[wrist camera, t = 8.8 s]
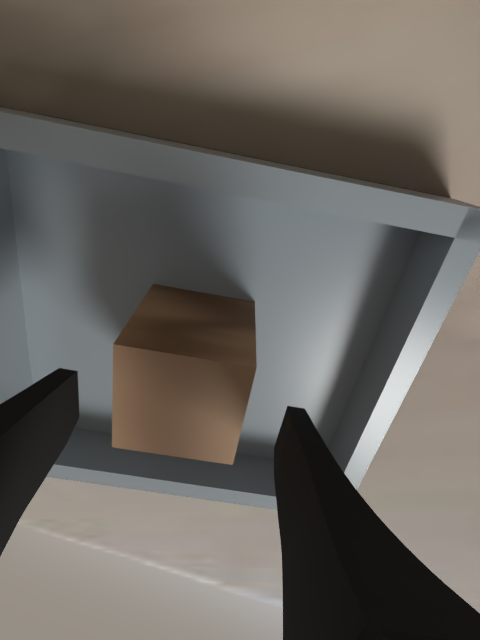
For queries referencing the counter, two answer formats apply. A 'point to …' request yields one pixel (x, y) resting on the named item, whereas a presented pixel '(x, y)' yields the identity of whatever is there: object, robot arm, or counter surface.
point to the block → (184, 375)
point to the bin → (219, 288)
